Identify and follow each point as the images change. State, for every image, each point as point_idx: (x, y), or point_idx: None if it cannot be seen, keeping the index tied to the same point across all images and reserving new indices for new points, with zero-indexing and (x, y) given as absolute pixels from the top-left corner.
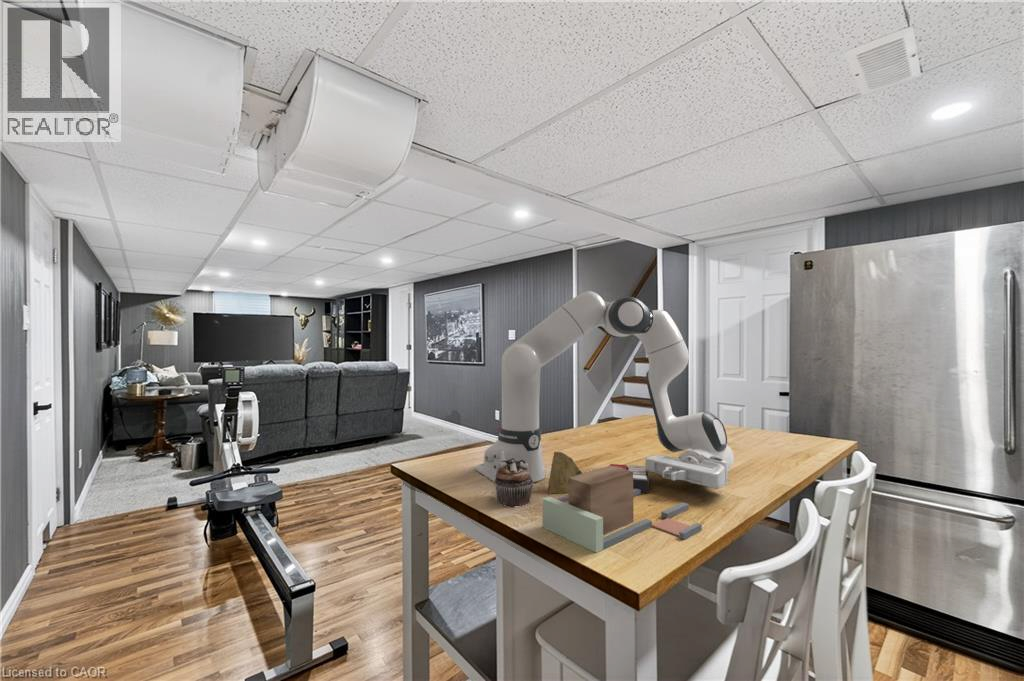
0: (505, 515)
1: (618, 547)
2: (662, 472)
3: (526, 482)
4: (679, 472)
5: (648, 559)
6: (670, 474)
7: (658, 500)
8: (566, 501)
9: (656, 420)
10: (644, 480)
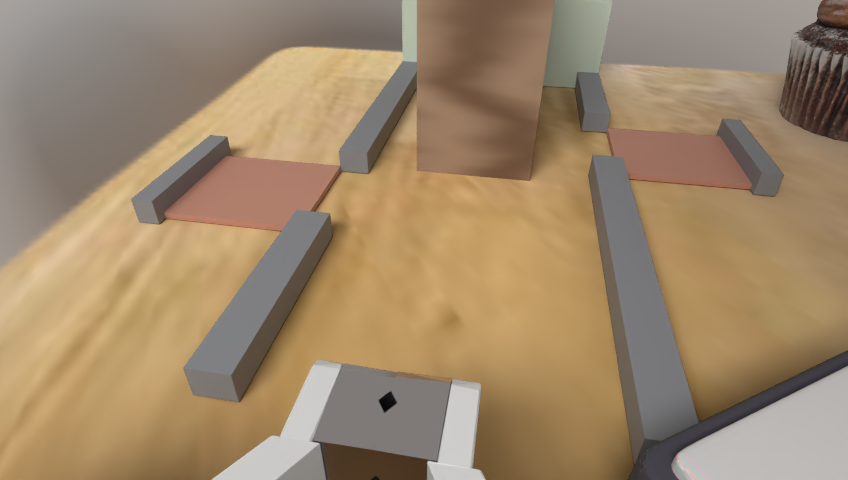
0: (722, 80)
1: (378, 89)
2: (477, 385)
3: (818, 33)
4: (232, 465)
5: (295, 85)
6: (353, 368)
7: None
8: (740, 166)
9: None
10: (671, 437)
